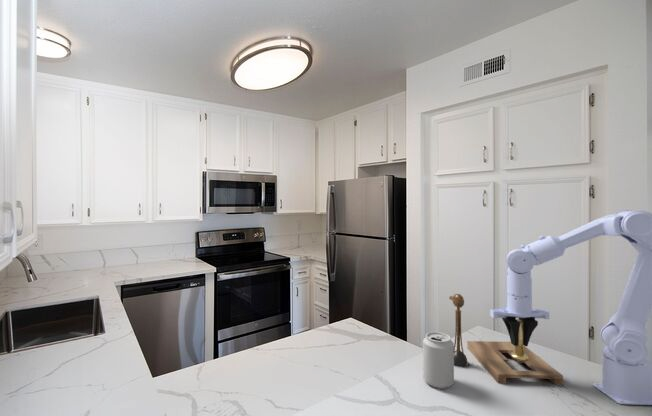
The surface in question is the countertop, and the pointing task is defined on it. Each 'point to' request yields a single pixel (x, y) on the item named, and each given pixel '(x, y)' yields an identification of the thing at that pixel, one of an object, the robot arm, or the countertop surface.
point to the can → (438, 360)
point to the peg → (520, 345)
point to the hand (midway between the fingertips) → (519, 344)
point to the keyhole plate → (497, 363)
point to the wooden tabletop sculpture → (458, 332)
